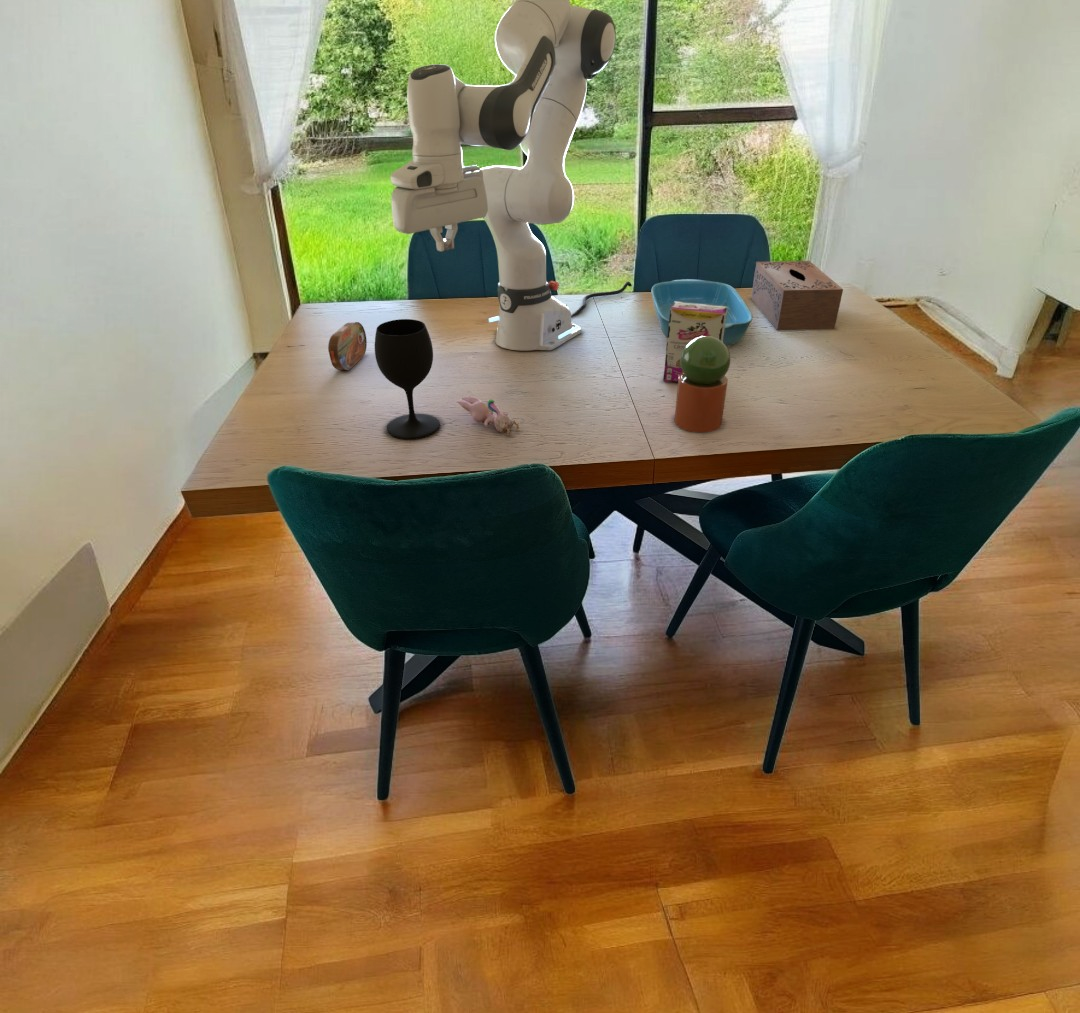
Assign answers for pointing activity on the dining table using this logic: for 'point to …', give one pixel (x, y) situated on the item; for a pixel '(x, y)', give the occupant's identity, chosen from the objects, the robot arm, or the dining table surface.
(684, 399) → the potted herb
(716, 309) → the candy bar box
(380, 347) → the wine glass
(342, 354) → the tin
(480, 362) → the dining table surface
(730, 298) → the casserole dish
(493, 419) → the rabbit figure
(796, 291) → the tissue box cover
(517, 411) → the dining table surface
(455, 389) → the dining table surface
